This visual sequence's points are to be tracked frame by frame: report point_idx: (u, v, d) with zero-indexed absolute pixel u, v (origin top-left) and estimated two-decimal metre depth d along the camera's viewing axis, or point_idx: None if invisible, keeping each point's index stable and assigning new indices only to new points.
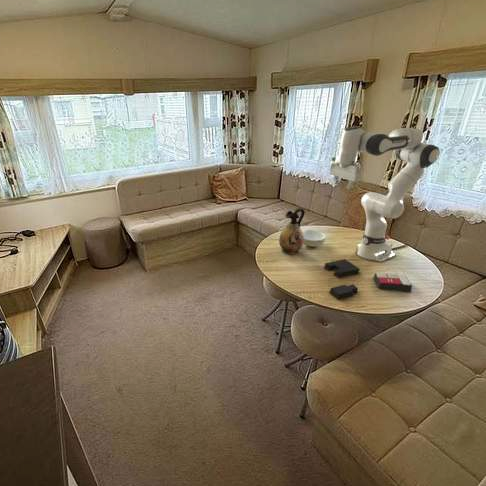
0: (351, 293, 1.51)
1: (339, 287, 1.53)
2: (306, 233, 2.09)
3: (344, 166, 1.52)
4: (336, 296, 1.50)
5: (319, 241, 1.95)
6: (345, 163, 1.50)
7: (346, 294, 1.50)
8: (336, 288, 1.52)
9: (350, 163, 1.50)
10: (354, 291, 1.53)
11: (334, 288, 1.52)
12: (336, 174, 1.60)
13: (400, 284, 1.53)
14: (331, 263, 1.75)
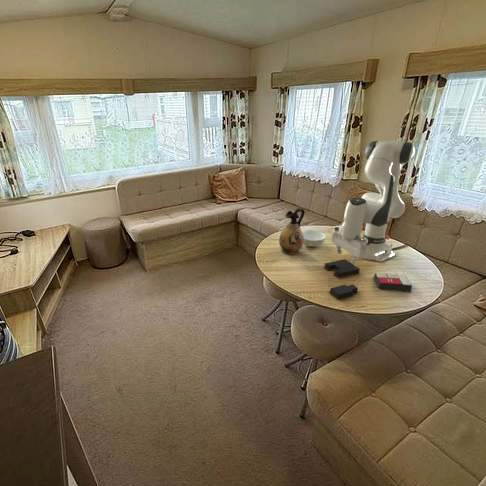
0: (351, 293, 1.51)
1: (339, 287, 1.53)
2: (306, 233, 2.09)
3: (348, 239, 1.40)
4: (336, 296, 1.50)
5: (319, 241, 1.95)
6: (349, 237, 1.38)
7: (346, 294, 1.50)
8: (336, 288, 1.52)
9: (354, 237, 1.38)
10: (354, 291, 1.53)
11: (334, 288, 1.52)
12: (339, 244, 1.48)
13: (400, 284, 1.53)
14: (331, 263, 1.75)
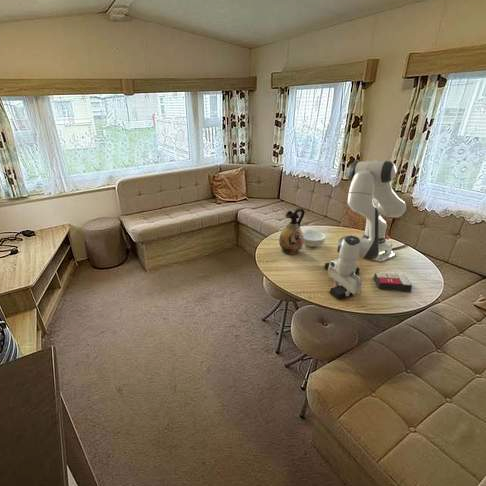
0: (351, 293, 1.51)
1: (339, 287, 1.53)
2: (306, 233, 2.09)
3: (343, 275, 1.45)
4: (336, 296, 1.50)
5: (319, 241, 1.95)
6: (344, 274, 1.43)
7: None
8: (336, 288, 1.52)
9: (349, 274, 1.43)
10: None
11: (334, 288, 1.52)
12: (335, 278, 1.52)
13: (400, 284, 1.53)
14: None
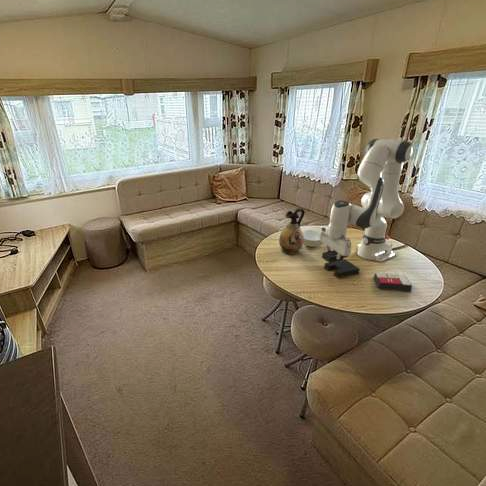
0: (342, 257, 1.58)
1: (330, 252, 1.61)
2: (306, 233, 2.09)
3: (334, 239, 1.53)
4: (328, 260, 1.57)
5: (319, 241, 1.95)
6: (335, 237, 1.51)
7: None
8: (327, 253, 1.60)
9: (340, 237, 1.50)
10: None
11: (326, 253, 1.60)
12: (326, 243, 1.60)
13: (400, 284, 1.53)
14: (331, 263, 1.75)
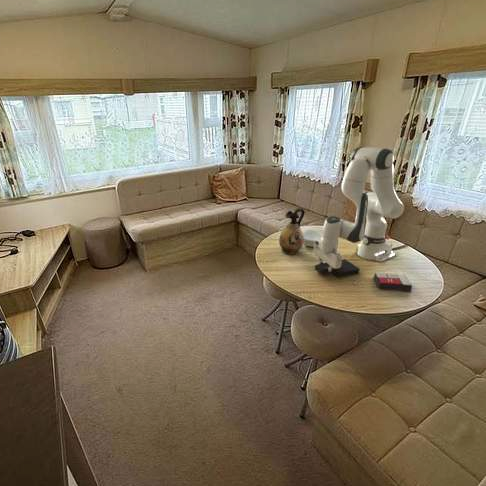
0: (333, 269, 1.67)
1: (323, 264, 1.69)
2: (306, 233, 2.09)
3: (326, 252, 1.61)
4: (320, 271, 1.66)
5: None
6: (326, 250, 1.59)
7: None
8: (320, 265, 1.69)
9: (331, 251, 1.59)
10: None
11: (318, 265, 1.68)
12: (319, 256, 1.69)
13: (400, 284, 1.53)
14: None
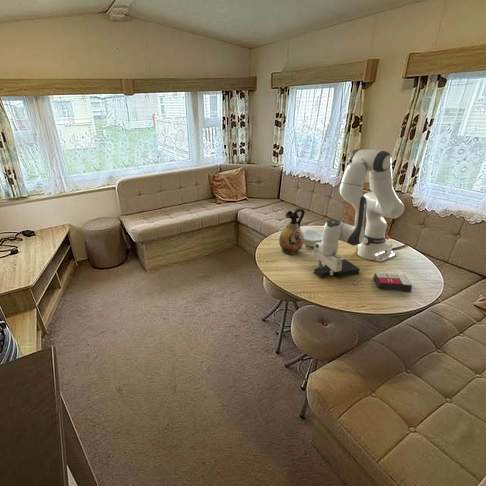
0: (333, 273, 1.68)
1: (322, 268, 1.71)
2: (306, 233, 2.09)
3: (326, 255, 1.62)
4: (319, 275, 1.67)
5: (319, 241, 1.95)
6: (327, 253, 1.60)
7: (328, 274, 1.67)
8: (319, 269, 1.70)
9: (331, 254, 1.60)
10: None
11: (318, 269, 1.70)
12: (319, 259, 1.70)
13: (400, 284, 1.53)
14: None
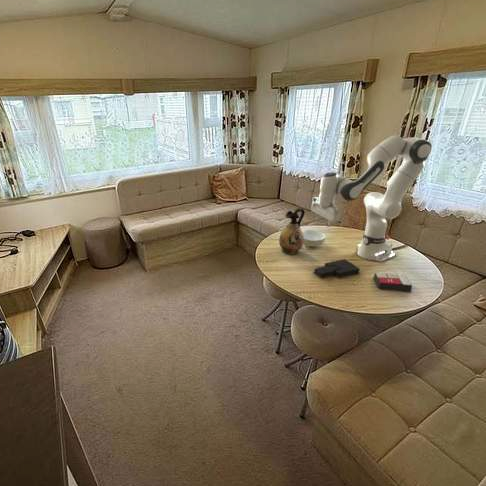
0: (333, 273, 1.68)
1: (322, 268, 1.71)
2: (306, 233, 2.09)
3: (324, 207, 1.70)
4: (319, 275, 1.67)
5: (319, 241, 1.95)
6: (324, 205, 1.68)
7: (328, 274, 1.67)
8: (319, 269, 1.70)
9: (329, 205, 1.68)
10: None
11: (318, 269, 1.70)
12: (317, 213, 1.78)
13: (400, 284, 1.53)
14: (331, 263, 1.75)
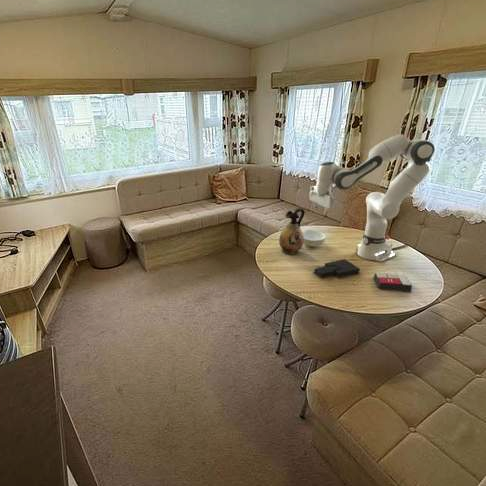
0: (333, 273, 1.68)
1: (322, 268, 1.71)
2: (306, 233, 2.09)
3: (321, 195, 1.78)
4: (319, 275, 1.67)
5: (319, 241, 1.95)
6: (321, 193, 1.76)
7: (328, 274, 1.67)
8: (319, 269, 1.70)
9: (325, 193, 1.75)
10: None
11: (318, 269, 1.70)
12: (315, 201, 1.85)
13: (400, 284, 1.53)
14: (331, 263, 1.75)
